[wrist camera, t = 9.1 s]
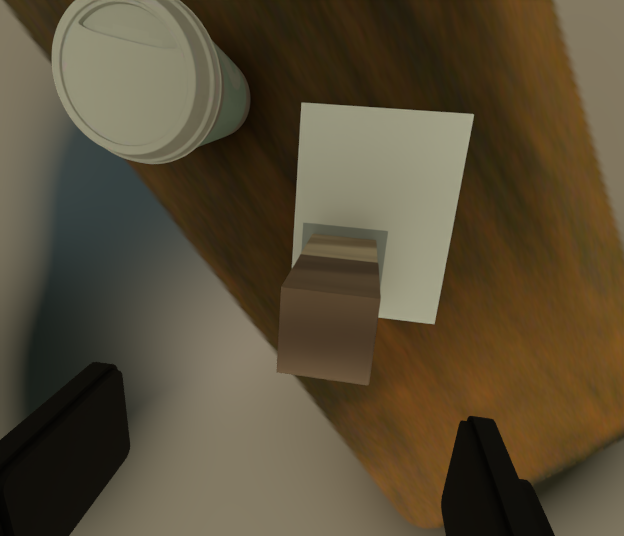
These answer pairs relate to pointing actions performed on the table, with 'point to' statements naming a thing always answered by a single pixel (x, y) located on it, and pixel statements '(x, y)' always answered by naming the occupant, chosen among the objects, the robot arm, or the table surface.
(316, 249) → the beech block
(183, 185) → the table surface
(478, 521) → the robot arm
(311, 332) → the walnut block
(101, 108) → the coffee cup
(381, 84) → the table surface
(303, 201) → the build board
